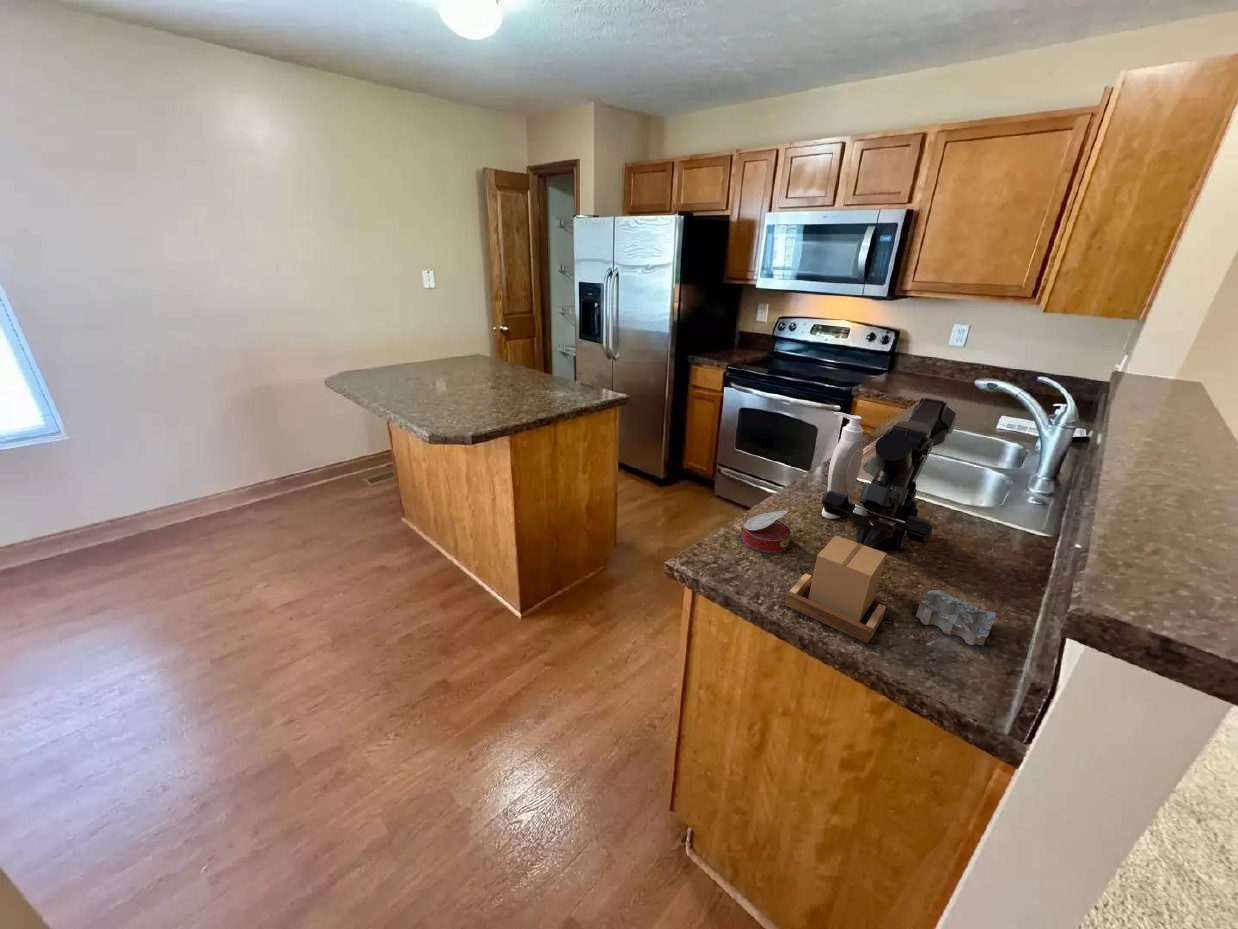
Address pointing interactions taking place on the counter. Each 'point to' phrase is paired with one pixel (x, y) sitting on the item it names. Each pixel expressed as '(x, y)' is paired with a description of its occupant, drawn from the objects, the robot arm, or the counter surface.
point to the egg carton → (955, 616)
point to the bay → (832, 613)
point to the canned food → (767, 532)
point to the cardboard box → (847, 577)
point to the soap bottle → (846, 460)
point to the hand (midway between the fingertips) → (857, 557)
